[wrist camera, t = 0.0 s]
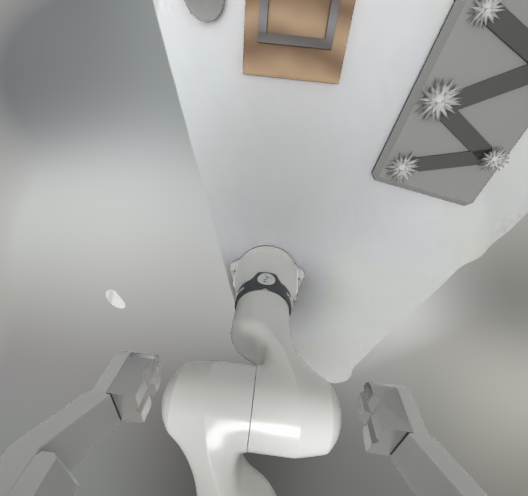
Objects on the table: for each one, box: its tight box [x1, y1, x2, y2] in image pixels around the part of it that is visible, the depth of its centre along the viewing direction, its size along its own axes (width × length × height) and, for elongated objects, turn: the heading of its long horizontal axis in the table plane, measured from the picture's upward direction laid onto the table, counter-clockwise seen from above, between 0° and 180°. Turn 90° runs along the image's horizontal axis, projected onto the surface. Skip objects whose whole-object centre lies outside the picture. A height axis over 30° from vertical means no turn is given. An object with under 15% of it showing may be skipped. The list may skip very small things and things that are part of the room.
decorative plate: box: [372, 0, 528, 206], centre depth 44 cm, size 30×22×7 cm
